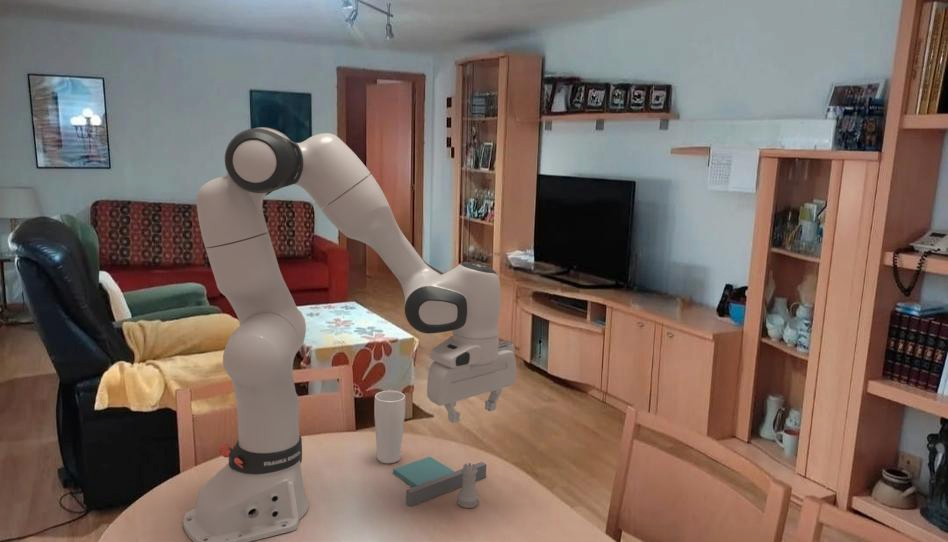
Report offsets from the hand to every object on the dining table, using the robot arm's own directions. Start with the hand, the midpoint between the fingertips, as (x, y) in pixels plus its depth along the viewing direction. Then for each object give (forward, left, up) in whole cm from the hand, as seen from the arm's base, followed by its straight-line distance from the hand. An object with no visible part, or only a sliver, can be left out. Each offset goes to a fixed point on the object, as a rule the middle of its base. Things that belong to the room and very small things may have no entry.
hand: (472, 415), depth 135 cm
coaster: (0, +14, -19) cm, 23 cm away
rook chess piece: (0, 0, -19) cm, 19 cm away
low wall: (0, +7, -19) cm, 20 cm away
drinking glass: (-2, +25, -19) cm, 31 cm away
